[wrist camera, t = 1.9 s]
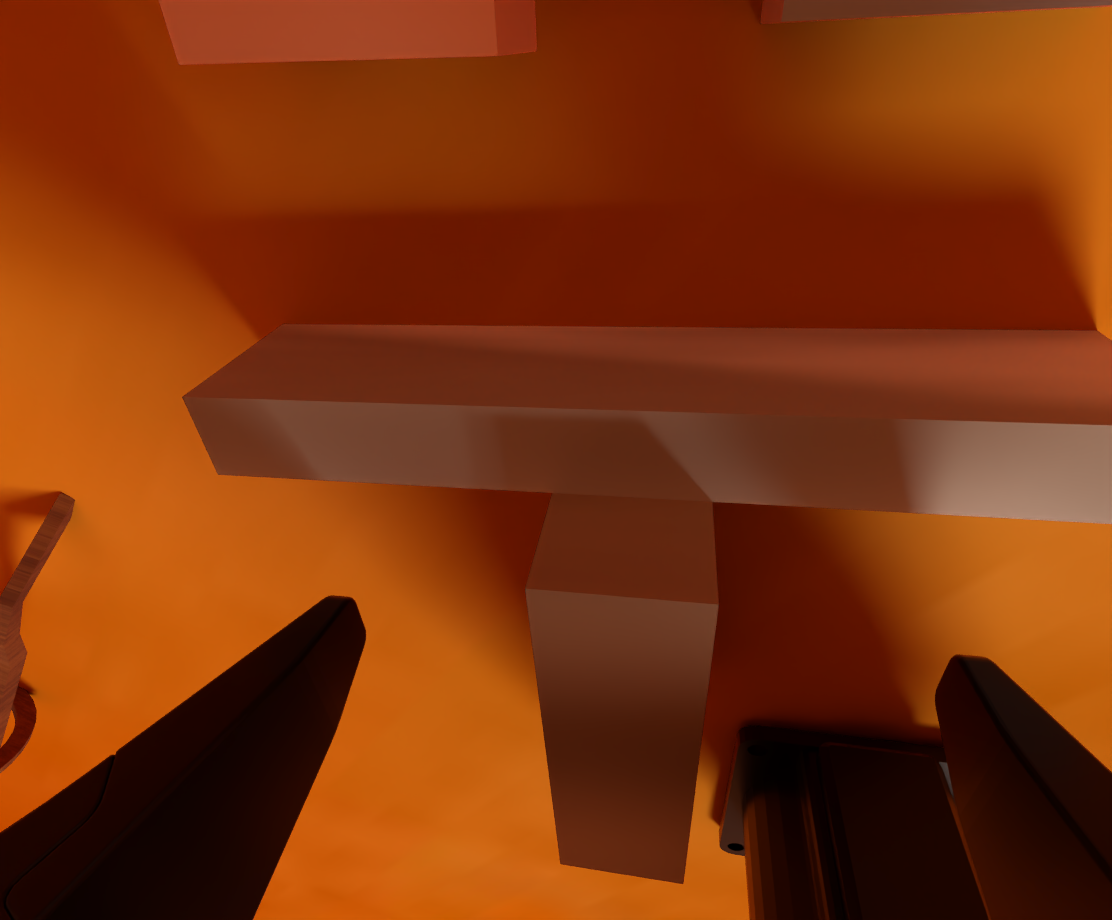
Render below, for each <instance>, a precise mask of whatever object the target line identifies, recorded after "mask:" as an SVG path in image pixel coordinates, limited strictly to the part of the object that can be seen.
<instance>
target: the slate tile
mask: <svg viewBox="0 0 1112 920" xmlns="http://www.w3.org/2000/svg"><path fill="white" fill-rule="evenodd" d="M1111 6H1112V0H763V2H762V11H761V19H760V24H772V23H792V22H812V21H832V20H852V19H872V18H892V17H912V16H932V15H952V14H972V13H992V12H1012V11H1032V10H1052V9H1072V8H1092V7H1111Z"/></svg>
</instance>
